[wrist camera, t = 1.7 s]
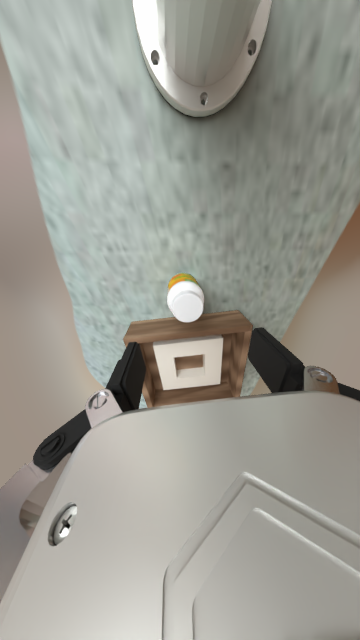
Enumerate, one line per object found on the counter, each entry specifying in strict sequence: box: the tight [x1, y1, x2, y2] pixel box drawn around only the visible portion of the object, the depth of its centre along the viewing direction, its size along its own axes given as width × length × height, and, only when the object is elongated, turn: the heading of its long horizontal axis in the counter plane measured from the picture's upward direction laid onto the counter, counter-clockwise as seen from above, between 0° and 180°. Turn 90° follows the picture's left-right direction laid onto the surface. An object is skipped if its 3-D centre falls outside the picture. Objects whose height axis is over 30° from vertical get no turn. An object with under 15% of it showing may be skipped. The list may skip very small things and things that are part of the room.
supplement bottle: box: [167, 273, 204, 322], centre depth 22 cm, size 5×5×10 cm
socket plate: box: [153, 334, 223, 390], centre depth 32 cm, size 14×14×2 cm
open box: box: [123, 310, 253, 408], centre depth 32 cm, size 22×22×6 cm
